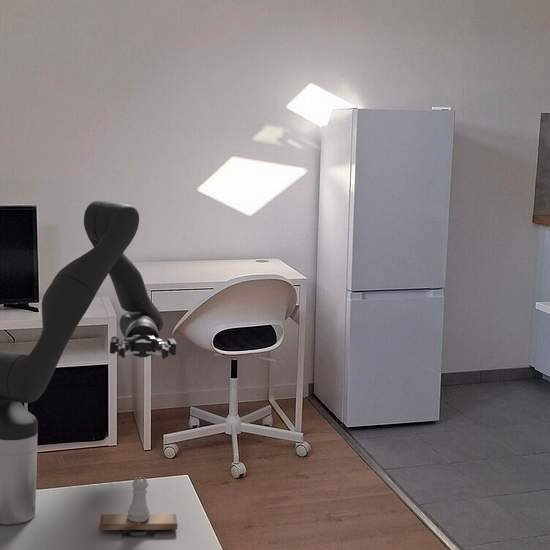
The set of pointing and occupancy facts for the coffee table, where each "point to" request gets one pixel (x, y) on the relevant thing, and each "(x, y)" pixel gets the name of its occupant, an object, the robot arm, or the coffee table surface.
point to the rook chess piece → (139, 502)
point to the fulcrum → (138, 533)
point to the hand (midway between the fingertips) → (143, 353)
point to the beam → (125, 524)
